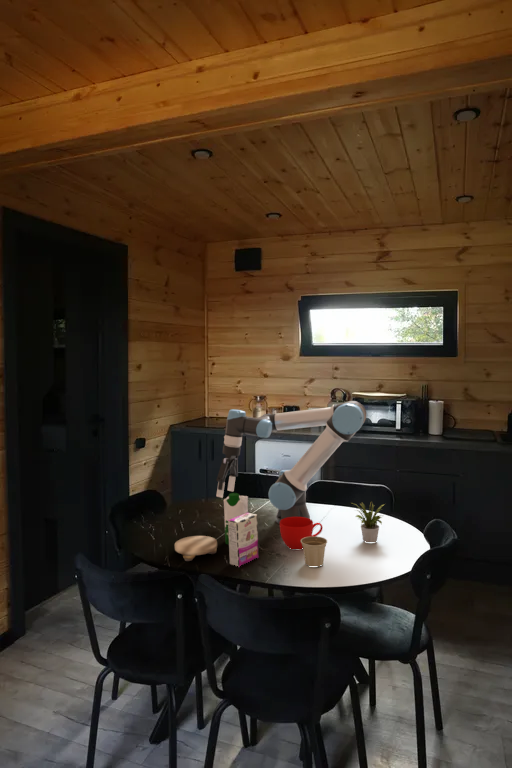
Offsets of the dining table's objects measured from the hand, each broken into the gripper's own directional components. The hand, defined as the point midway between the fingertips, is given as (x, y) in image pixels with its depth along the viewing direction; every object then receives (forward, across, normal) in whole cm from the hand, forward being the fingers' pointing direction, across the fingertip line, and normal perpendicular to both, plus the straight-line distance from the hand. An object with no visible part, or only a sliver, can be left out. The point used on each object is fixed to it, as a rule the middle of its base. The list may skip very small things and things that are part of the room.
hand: (225, 493), depth 226 cm
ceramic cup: (+10, +12, +38) cm, 42 cm away
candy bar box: (+14, +31, +21) cm, 40 cm away
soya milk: (+14, +14, +12) cm, 23 cm away
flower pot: (+10, +28, +46) cm, 55 cm away
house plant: (+6, +1, +62) cm, 62 cm away
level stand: (+17, +29, +2) cm, 33 cm away
